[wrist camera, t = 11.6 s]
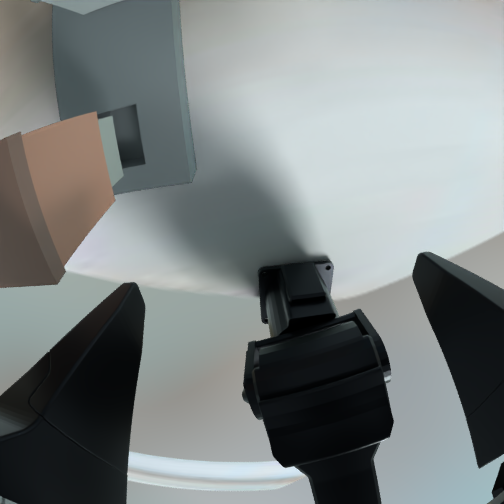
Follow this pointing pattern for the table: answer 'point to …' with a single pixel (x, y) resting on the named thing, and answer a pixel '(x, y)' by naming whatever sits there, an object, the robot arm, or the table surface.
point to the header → (129, 85)
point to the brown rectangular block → (53, 195)
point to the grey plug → (80, 4)
